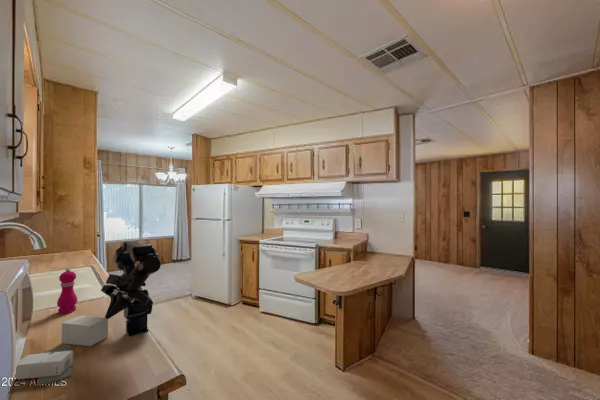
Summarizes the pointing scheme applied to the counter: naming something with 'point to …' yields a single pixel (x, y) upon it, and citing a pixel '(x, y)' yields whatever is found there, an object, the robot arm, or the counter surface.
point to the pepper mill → (67, 293)
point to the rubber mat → (59, 377)
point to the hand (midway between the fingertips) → (106, 318)
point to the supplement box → (84, 330)
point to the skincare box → (43, 364)
